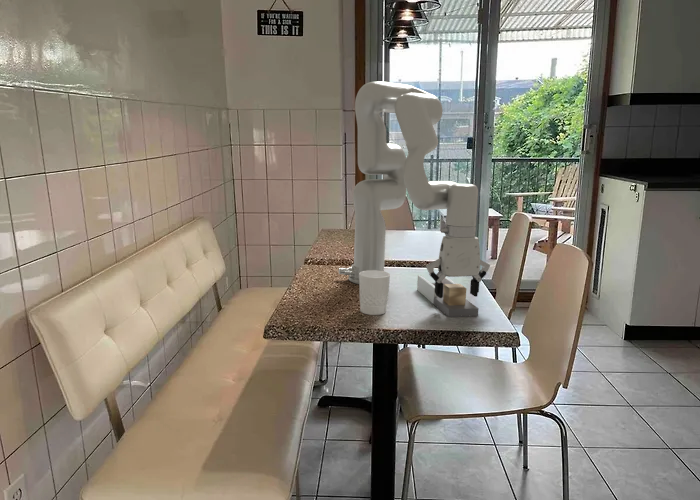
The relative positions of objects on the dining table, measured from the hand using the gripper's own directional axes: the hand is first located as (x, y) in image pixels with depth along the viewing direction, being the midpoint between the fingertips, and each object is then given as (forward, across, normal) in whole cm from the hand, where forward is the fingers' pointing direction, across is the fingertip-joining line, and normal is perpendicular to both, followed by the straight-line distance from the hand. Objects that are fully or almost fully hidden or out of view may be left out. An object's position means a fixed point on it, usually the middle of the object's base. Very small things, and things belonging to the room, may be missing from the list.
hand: (456, 295), depth 142 cm
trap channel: (+4, 0, +7) cm, 8 cm away
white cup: (+4, -22, +2) cm, 22 cm away
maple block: (+2, -1, 0) cm, 2 cm away
